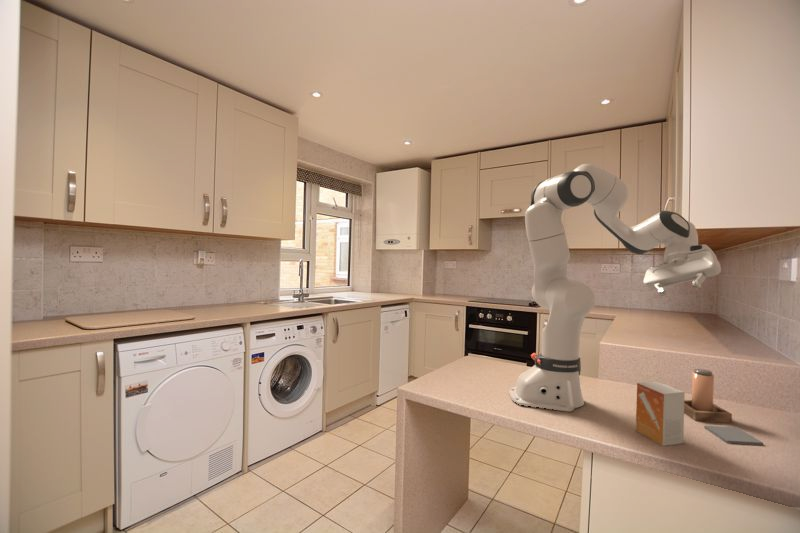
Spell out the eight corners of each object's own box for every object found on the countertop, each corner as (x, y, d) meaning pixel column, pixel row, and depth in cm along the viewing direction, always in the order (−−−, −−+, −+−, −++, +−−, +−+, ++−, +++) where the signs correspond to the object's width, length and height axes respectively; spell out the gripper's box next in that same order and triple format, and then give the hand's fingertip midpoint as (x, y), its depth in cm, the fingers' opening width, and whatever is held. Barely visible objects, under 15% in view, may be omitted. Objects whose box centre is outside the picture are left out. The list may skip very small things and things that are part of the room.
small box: (635, 430, 97) (636, 382, 97) (655, 428, 98) (656, 380, 98) (662, 446, 89) (663, 393, 89) (684, 444, 90) (685, 391, 90)
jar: (698, 417, 105) (699, 373, 104) (687, 410, 110) (688, 368, 109) (717, 418, 104) (718, 374, 104) (705, 411, 109) (706, 368, 109)
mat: (726, 442, 91) (726, 440, 91) (704, 427, 99) (704, 425, 99) (763, 445, 90) (763, 442, 90) (737, 429, 98) (737, 427, 98)
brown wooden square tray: (695, 420, 103) (695, 412, 103) (675, 407, 112) (675, 399, 112) (731, 422, 102) (731, 413, 102) (708, 408, 111) (708, 400, 111)
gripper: (641, 262, 127) (637, 292, 120) (712, 242, 111) (712, 274, 103) (651, 274, 129) (648, 304, 121) (723, 256, 112) (724, 289, 104)
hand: (678, 290), depth 112 cm, fingers open, 8 cm apart
